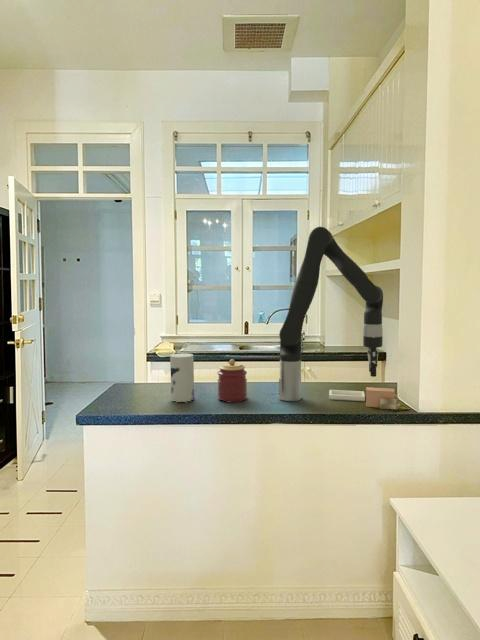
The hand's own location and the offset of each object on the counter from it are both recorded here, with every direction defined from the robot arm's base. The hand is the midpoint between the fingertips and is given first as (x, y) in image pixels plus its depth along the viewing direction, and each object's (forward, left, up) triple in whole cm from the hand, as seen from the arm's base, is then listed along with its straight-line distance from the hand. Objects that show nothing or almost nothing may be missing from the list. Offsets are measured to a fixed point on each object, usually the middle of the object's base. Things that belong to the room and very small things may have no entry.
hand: (372, 374), depth 176 cm
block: (+3, 0, -13) cm, 14 cm away
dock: (+6, 0, -13) cm, 15 cm away
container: (-80, -8, -13) cm, 82 cm away
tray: (-10, +10, -13) cm, 19 cm away
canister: (-59, -2, -13) cm, 61 cm away
